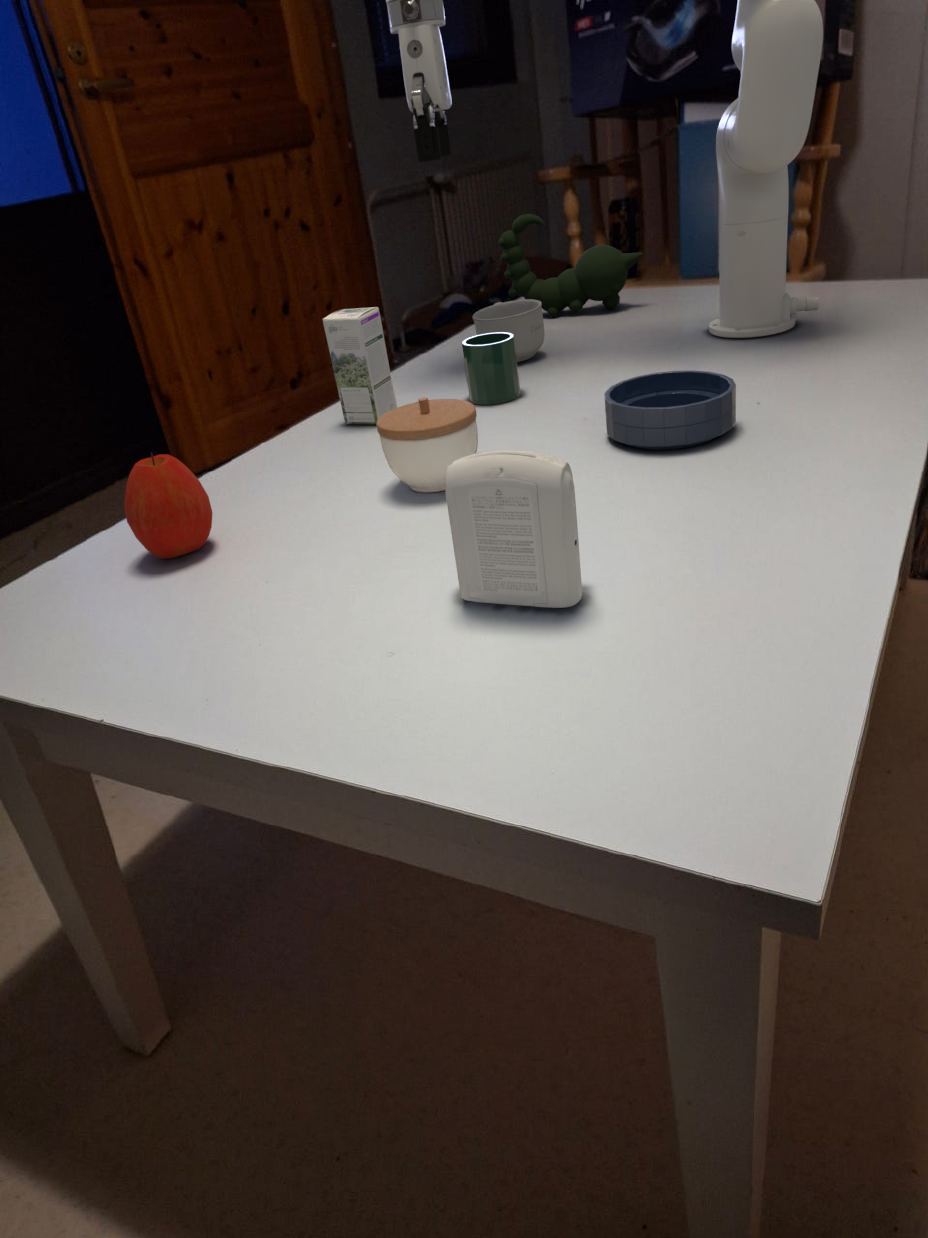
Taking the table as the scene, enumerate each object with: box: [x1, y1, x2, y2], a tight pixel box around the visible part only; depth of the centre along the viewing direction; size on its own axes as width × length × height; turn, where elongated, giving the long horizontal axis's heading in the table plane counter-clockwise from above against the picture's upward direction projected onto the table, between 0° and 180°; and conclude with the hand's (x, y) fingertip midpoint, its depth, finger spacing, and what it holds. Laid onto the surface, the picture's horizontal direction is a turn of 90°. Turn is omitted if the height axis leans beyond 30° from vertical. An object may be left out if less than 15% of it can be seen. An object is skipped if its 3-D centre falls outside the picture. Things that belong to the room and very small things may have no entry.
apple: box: [123, 452, 213, 560], centre depth 90 cm, size 8×8×11 cm
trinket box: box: [375, 397, 479, 494], centre depth 97 cm, size 11×11×9 cm
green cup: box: [461, 332, 521, 406], centre depth 123 cm, size 7×7×8 cm
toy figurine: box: [497, 213, 644, 318], centre depth 162 cm, size 9×19×25 cm
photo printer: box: [444, 449, 583, 609], centre depth 70 cm, size 10×4×12 cm, turn 69°
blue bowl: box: [603, 369, 737, 450], centre depth 101 cm, size 14×14×5 cm
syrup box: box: [322, 306, 398, 425], centre depth 121 cm, size 6×6×14 cm
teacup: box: [472, 298, 545, 363], centre depth 142 cm, size 14×11×8 cm
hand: (435, 158), depth 129 cm, fingers open, 9 cm apart
